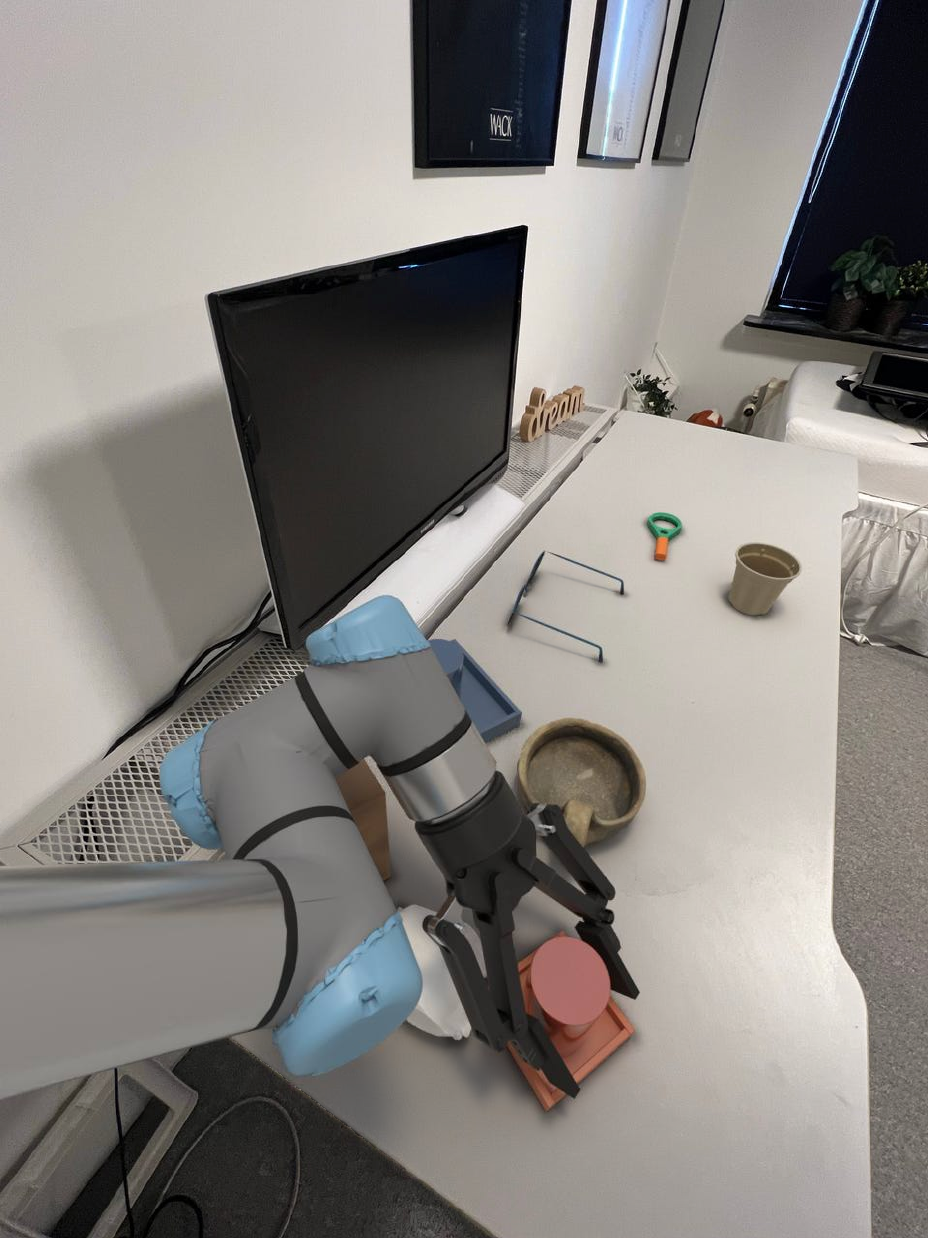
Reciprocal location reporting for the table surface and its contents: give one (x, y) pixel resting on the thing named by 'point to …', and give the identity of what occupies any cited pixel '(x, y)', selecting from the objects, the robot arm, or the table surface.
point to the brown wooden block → (368, 812)
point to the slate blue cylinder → (449, 661)
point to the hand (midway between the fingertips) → (596, 1035)
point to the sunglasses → (549, 625)
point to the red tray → (589, 1055)
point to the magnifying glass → (663, 532)
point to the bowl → (583, 777)
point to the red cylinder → (566, 991)
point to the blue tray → (486, 701)
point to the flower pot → (761, 576)
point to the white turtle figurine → (437, 979)
